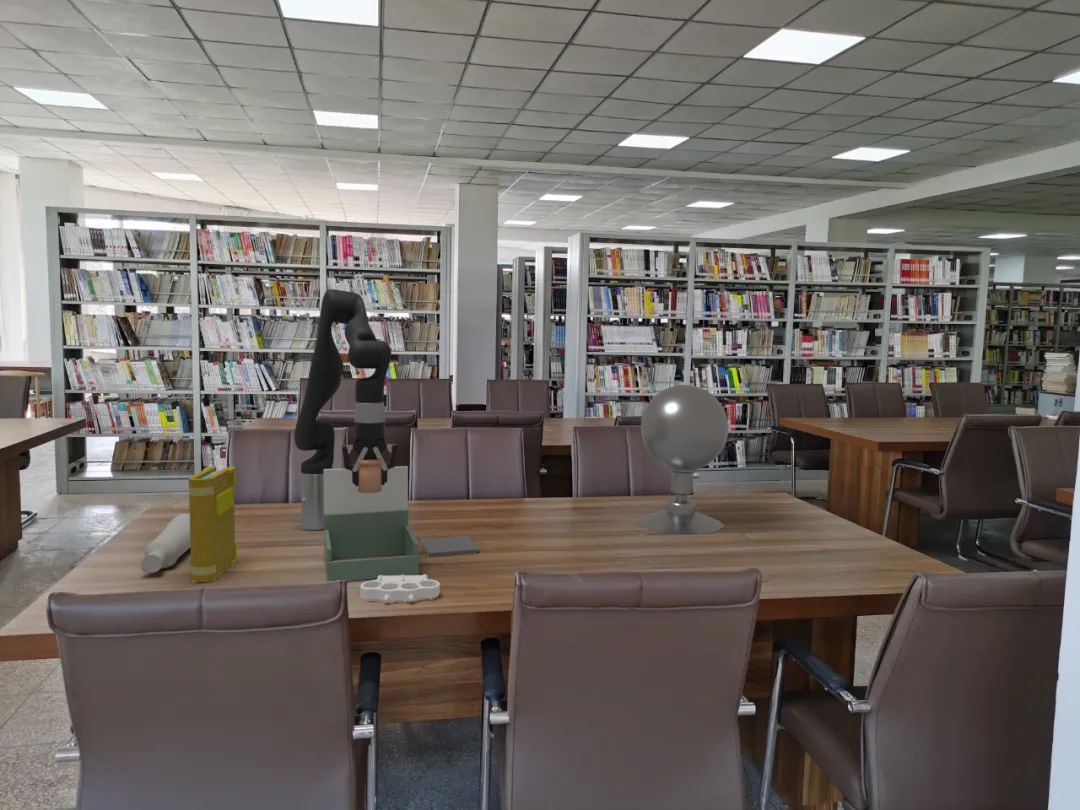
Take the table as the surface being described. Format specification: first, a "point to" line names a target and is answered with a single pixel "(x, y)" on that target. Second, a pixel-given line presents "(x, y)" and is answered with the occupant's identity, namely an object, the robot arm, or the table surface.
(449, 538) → the slate pad
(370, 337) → the robot arm
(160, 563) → the bottle
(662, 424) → the desk lamp
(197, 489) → the book
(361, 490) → the pot
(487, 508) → the table surface
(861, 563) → the table surface
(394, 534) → the box
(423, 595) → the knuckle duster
